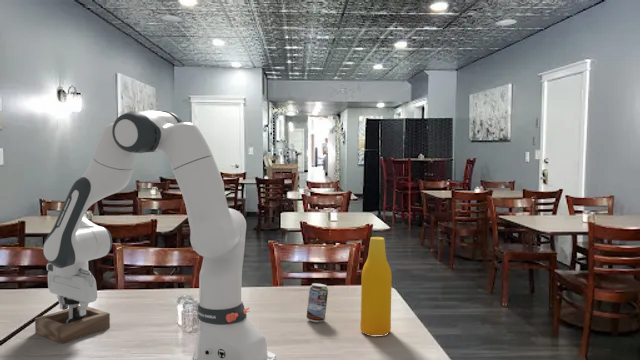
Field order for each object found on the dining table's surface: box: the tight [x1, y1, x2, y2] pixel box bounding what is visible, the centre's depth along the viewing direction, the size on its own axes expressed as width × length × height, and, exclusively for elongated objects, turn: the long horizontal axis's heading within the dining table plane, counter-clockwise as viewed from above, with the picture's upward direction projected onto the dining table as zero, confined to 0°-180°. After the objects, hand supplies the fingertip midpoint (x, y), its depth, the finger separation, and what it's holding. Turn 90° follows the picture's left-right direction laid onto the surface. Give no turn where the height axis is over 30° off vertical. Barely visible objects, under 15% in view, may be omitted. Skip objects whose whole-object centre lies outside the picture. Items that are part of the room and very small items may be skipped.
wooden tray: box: [34, 305, 111, 344], centre depth 148 cm, size 14×15×4 cm
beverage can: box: [306, 283, 329, 323], centre depth 159 cm, size 6×7×12 cm
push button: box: [64, 297, 82, 324], centre depth 147 cm, size 7×5×10 cm
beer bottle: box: [359, 236, 393, 335], centre depth 149 cm, size 9×9×29 cm
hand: (72, 312), depth 147 cm, fingers open, 8 cm apart
